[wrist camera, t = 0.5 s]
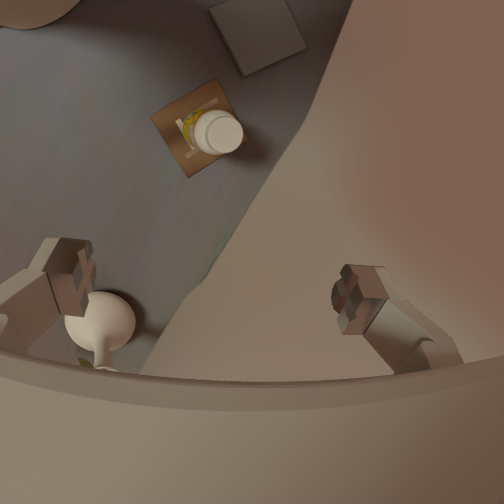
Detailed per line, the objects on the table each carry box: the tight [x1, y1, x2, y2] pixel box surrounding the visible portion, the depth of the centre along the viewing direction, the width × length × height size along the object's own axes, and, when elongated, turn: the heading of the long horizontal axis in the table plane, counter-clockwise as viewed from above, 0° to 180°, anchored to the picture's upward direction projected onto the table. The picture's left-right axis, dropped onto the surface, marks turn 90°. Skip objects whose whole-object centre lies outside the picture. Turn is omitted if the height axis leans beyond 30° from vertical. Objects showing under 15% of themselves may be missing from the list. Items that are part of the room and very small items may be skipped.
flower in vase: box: [65, 291, 136, 372], centre depth 36 cm, size 13×11×25 cm
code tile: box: [150, 79, 248, 178], centre depth 41 cm, size 10×10×1 cm
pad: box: [208, 0, 307, 77], centre depth 37 cm, size 11×11×1 cm
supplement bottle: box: [182, 109, 243, 155], centre depth 37 cm, size 5×5×10 cm
